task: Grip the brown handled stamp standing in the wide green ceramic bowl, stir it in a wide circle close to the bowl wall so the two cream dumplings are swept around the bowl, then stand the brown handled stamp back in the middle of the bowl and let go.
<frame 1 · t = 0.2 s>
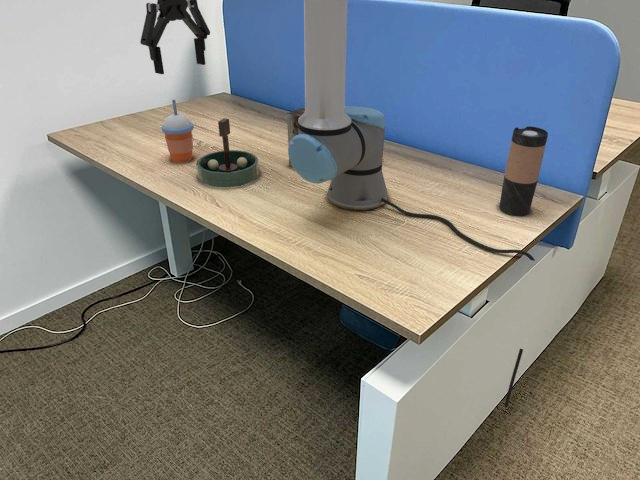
hand: (181, 68, 138), 28 cm above the table, tool pointing down, fingers open, 13 cm apart
cup with straw: (182, 160, 157), on the table
bowl: (229, 176, 147), on the table
brown handled stamp: (228, 174, 146), point 1 cm above the table, touching bowl
dumpling b: (213, 169, 149), point 1 cm above the table, touching bowl
coffee box: (306, 168, 152), on the table
dumpling a: (242, 167, 150), point 1 cm above the table, touching bowl
travel mug: (513, 209, 129), on the table
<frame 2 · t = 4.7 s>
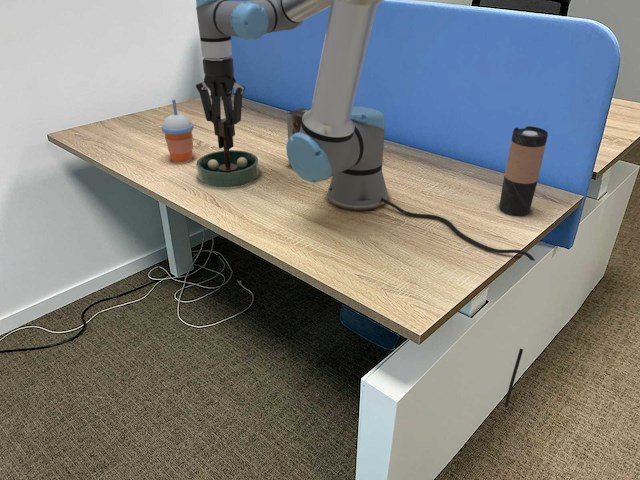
hand: (226, 147, 142), 9 cm above the table, tool pointing down, fingers closed on brown handled stamp, 2 cm apart
brown handled stamp: (228, 174, 146), point 1 cm above the table, touching bowl, gripper
everything else where it was.
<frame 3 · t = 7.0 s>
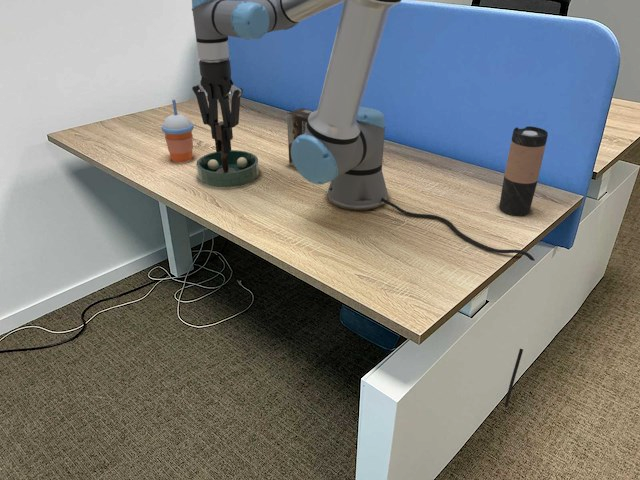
hand: (223, 150, 139), 9 cm above the table, tool pointing down, fingers closed on brown handled stamp, 2 cm apart
brown handled stamp: (226, 178, 143), point 1 cm above the table, touching gripper
everything else where it was.
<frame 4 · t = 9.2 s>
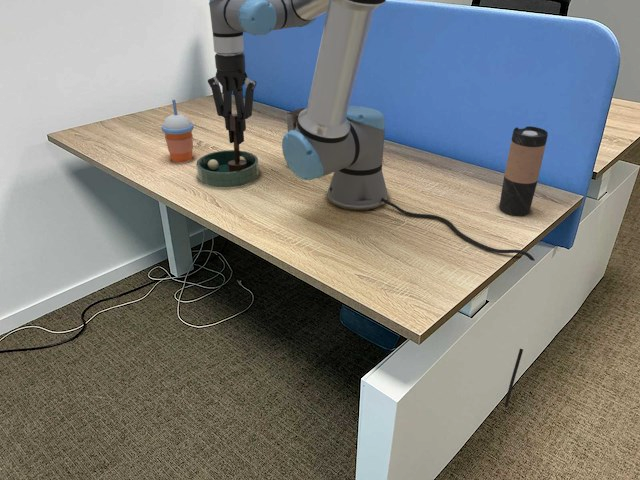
hand: (236, 141, 144), 9 cm above the table, tool pointing down, fingers closed on brown handled stamp, 2 cm apart
brown handled stamp: (237, 170, 147), point 1 cm above the table, touching dumpling a, gripper
dumpling a: (240, 166, 151), point 1 cm above the table, tilted 17°, touching bowl, brown handled stamp
everything else where it was.
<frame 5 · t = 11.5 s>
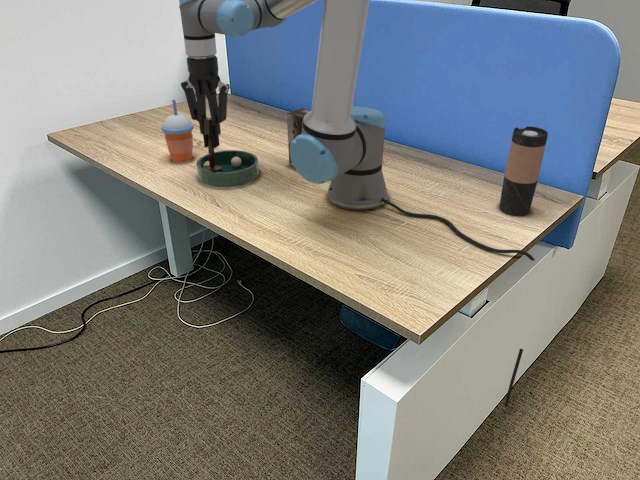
hand: (212, 145, 142), 9 cm above the table, tool pointing down, fingers closed on brown handled stamp, 2 cm apart
brown handled stamp: (212, 175, 144), point 1 cm above the table, tilted 7°, touching dumpling b, gripper
dumpling b: (209, 171, 148), point 1 cm above the table, tilted 14°, touching bowl, brown handled stamp
dumpling a: (236, 166, 151), point 1 cm above the table, tilted 20°, touching bowl
everything else where it was.
when the fingers open (9 cm above the table, at t = 13.1 s): brown handled stamp stays where it is, resting on bowl.
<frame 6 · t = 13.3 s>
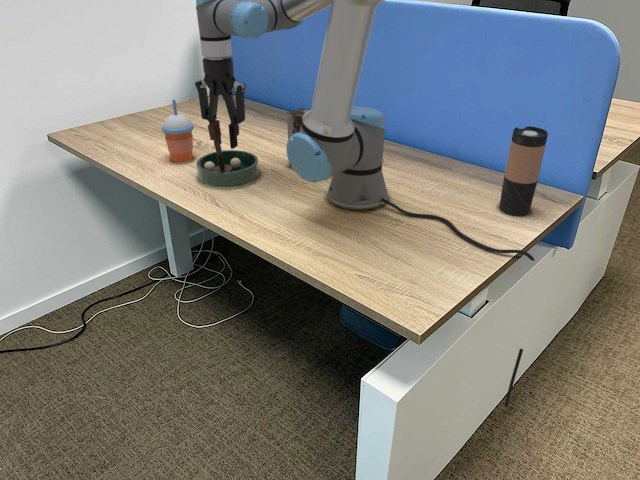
hand: (226, 145, 142), 9 cm above the table, tool pointing down, fingers open, 4 cm apart
brown handled stamp: (224, 176, 144), point 1 cm above the table, tilted 7°, touching bowl
dumpling b: (209, 171, 148), point 1 cm above the table, tilted 8°, touching bowl
dumpling a: (235, 164, 151), point 1 cm above the table, tilted 48°, touching bowl
everything else where it was.
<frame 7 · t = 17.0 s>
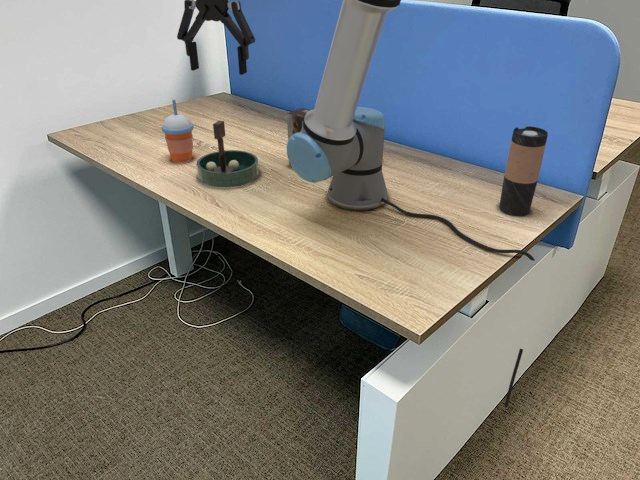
hand: (218, 71, 132), 29 cm above the table, tool pointing down, fingers open, 13 cm apart
brown handled stamp: (224, 177, 145), point 1 cm above the table, touching bowl
dumpling b: (209, 171, 148), point 1 cm above the table, tilted 27°, touching bowl
dumpling a: (234, 161, 149), point 3 cm above the table, tilted 110°, touching bowl
everything else where it was.
at the end: dumpling a moved 3.1 cm from its start; brown handled stamp 2.3 cm off-centre in the bowl, point 0.6 cm above the bowl's base; brown handled stamp tilted 0° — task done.
